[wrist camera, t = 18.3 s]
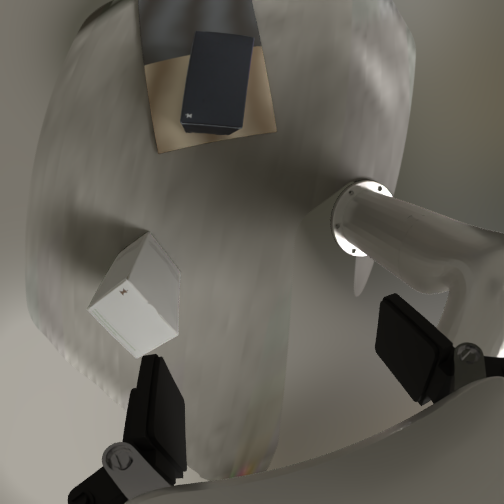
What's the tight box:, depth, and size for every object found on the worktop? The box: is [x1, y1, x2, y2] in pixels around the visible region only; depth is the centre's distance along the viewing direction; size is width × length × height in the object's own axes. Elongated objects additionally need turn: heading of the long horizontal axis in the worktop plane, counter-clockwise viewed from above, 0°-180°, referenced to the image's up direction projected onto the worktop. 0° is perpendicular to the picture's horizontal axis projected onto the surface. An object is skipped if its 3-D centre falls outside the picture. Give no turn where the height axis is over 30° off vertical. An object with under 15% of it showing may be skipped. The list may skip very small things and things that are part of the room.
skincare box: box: [87, 232, 181, 358], centre depth 32 cm, size 8×7×16 cm
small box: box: [180, 31, 254, 135], centre depth 27 cm, size 11×6×10 cm, turn 173°
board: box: [138, 0, 277, 154], centre depth 30 cm, size 16×26×1 cm, turn 9°
